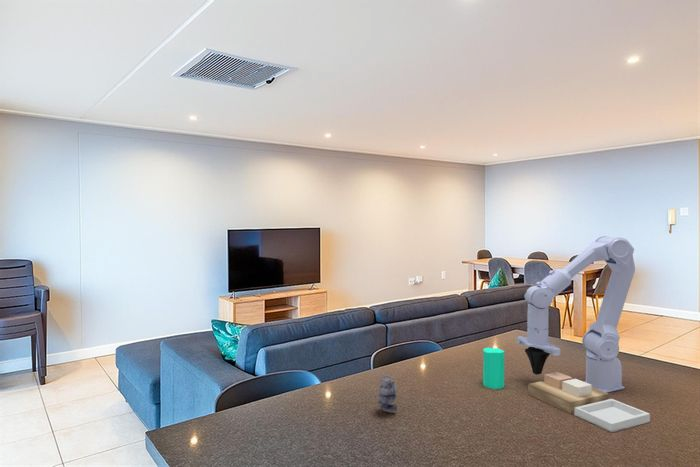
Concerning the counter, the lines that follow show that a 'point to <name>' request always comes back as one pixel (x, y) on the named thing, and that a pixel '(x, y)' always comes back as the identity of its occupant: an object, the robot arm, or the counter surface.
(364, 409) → the counter surface
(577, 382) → the cream tile
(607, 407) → the tray
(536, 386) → the board
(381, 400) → the grey stone figurine
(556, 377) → the terracotta tile
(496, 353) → the candle
